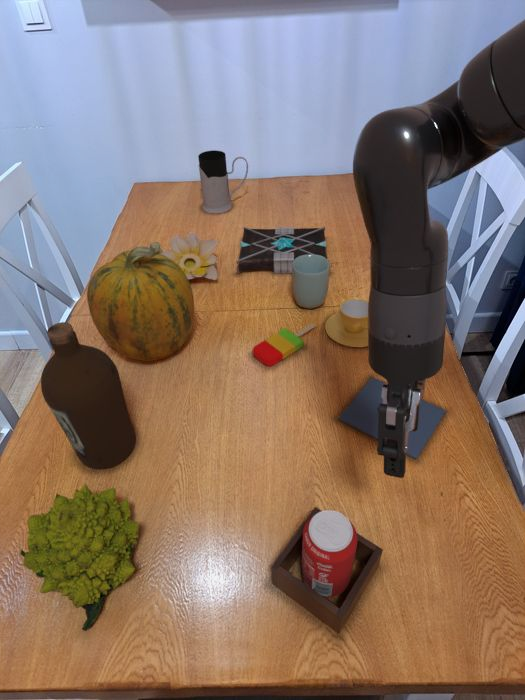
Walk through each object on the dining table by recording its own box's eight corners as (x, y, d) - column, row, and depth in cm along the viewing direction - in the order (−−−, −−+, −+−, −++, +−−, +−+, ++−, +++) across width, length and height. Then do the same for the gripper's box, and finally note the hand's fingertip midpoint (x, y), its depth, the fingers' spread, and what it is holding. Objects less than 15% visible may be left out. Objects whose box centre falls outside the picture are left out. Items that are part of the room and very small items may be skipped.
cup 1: (291, 292, 111) (292, 254, 104) (326, 292, 110) (328, 253, 103) (292, 313, 105) (292, 274, 98) (328, 313, 104) (331, 274, 98)
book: (237, 274, 117) (235, 256, 114) (243, 239, 129) (241, 221, 126) (328, 274, 116) (329, 255, 112) (325, 238, 128) (326, 220, 125)
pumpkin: (205, 368, 93) (187, 254, 77) (103, 386, 91) (61, 272, 74) (194, 310, 107) (177, 202, 90) (105, 324, 104) (70, 216, 88)
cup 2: (313, 330, 100) (314, 309, 97) (348, 304, 107) (351, 283, 103) (360, 357, 94) (363, 335, 90) (396, 327, 100) (400, 306, 96)
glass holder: (201, 201, 147) (194, 151, 137) (247, 196, 149) (244, 146, 138) (203, 215, 141) (197, 163, 130) (252, 209, 142) (249, 157, 132)
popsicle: (250, 354, 96) (249, 347, 94) (305, 322, 103) (305, 314, 101) (269, 369, 92) (268, 362, 91) (324, 334, 100) (324, 327, 98)
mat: (445, 412, 83) (446, 410, 83) (416, 460, 76) (416, 458, 76) (371, 378, 90) (372, 376, 89) (338, 419, 83) (338, 418, 83)
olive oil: (123, 411, 86) (82, 295, 69) (151, 449, 80) (114, 332, 63) (64, 441, 81) (6, 326, 65) (89, 485, 75) (31, 369, 58)
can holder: (378, 567, 64) (383, 549, 61) (339, 634, 58) (342, 619, 55) (313, 525, 69) (315, 506, 66) (271, 583, 63) (270, 566, 60)
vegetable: (97, 654, 54) (32, 545, 51) (39, 621, 65) (-18, 528, 62) (188, 559, 65) (140, 463, 61) (126, 544, 75) (81, 461, 72)
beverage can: (358, 568, 64) (368, 522, 56) (335, 611, 60) (342, 568, 52) (316, 543, 67) (320, 495, 59) (292, 582, 63) (292, 537, 55)
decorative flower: (150, 287, 111) (147, 244, 106) (159, 271, 121) (156, 231, 116) (217, 289, 111) (216, 246, 107) (219, 272, 121) (219, 232, 117)
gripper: (435, 363, 42) (426, 501, 50) (453, 300, 53) (443, 420, 61) (350, 353, 45) (353, 484, 53) (384, 295, 56) (383, 410, 64)
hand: (401, 450), depth 57 cm, fingers open, 8 cm apart
